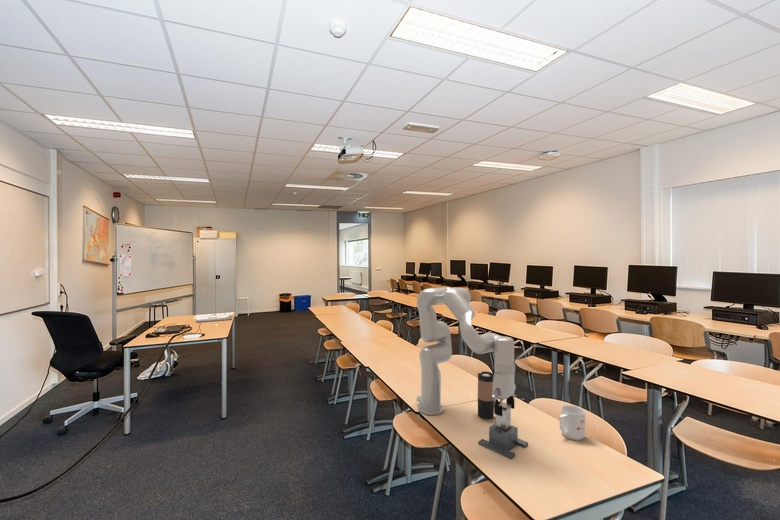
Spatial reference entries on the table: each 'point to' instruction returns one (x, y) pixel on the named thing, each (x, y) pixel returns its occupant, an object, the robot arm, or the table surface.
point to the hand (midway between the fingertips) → (504, 411)
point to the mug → (572, 422)
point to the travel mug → (485, 395)
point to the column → (504, 418)
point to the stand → (503, 441)
